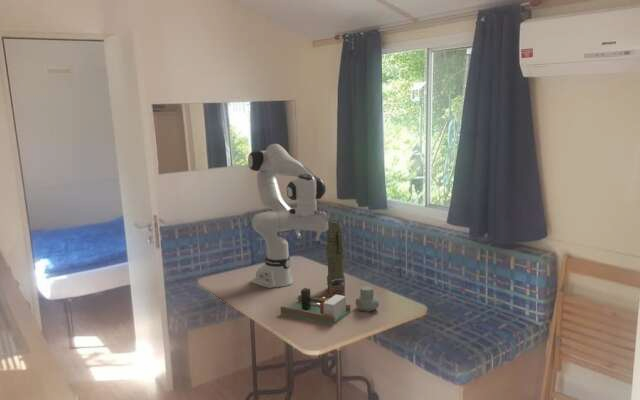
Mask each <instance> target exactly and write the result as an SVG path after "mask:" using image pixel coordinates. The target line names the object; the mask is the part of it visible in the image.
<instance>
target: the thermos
mask: <svg viewBox="0 0 640 400" xmlns="http://www.w3.org/2000/svg"><path fill="white" fill-rule="evenodd" d="M326 238H327V240H326V241H327V243H326V249H325V250H326V252H325V253H326V257H327V258H326V259H327V276H326V285H327V291H328V292H329V285H330V284H331V280H334V279H337V280H338V279H343V280H344V282H341V283H345V284H346V282H345V281H346V276H345V274H344V257H345V246H344V242H343V226H342V223H341V221H338V220H331V221H328V230H327V231H326ZM338 283H339V282H338Z"/></svg>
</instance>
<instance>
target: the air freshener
mask: <svg viewBox="0 0 640 400" xmlns="http://www.w3.org/2000/svg"><path fill="white" fill-rule="evenodd" d="M359 293H360V295H359V296H357V298H356V299H355V305H356V308H357V309H358V310H360V311H361V312H373V311H375V310H376V309H378V307H379V306H380V305H379V304H380V303H379V300H378V299H377V297H376V296H374V287H372V286H369V285H366V286H361V287H360V289H359Z"/></svg>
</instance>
